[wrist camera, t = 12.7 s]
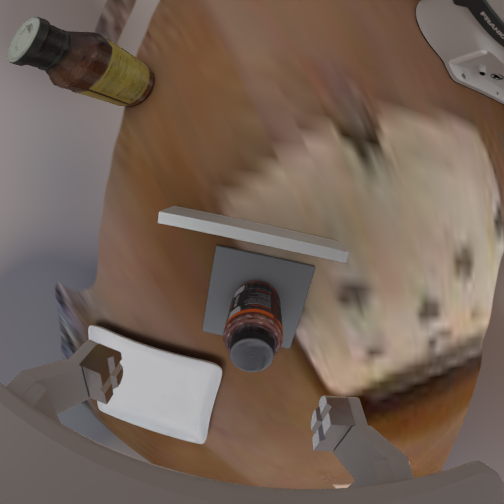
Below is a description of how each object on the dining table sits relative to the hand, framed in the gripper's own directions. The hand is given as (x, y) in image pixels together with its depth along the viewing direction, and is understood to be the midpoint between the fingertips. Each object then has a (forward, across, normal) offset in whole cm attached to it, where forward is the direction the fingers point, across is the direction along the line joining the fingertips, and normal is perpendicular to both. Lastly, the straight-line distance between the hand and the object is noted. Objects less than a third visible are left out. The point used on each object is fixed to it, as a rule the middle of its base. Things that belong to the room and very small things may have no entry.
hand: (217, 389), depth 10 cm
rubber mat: (+24, -2, +8) cm, 26 cm away
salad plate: (+24, +12, +28) cm, 39 cm away
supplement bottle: (+24, -2, +8) cm, 25 cm away
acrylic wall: (+24, 0, -1) cm, 24 cm away
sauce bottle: (+25, +19, -16) cm, 35 cm away
